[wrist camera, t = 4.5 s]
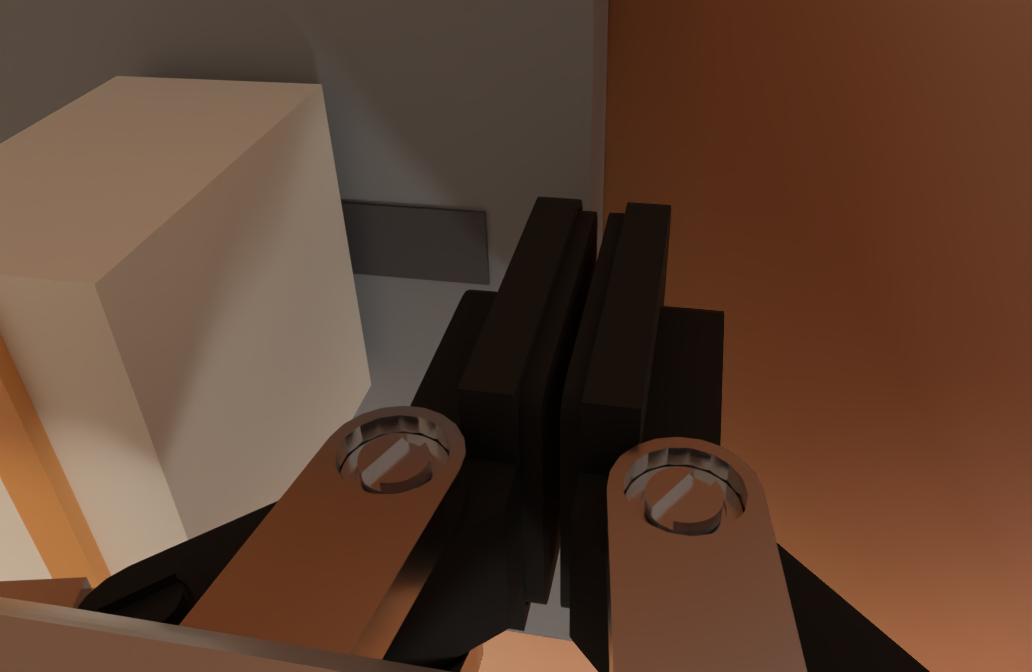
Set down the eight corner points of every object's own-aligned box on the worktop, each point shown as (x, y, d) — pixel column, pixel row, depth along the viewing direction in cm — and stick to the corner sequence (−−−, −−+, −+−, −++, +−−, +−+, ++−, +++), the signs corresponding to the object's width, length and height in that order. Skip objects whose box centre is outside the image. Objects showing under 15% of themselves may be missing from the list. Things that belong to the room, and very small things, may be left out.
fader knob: (321, 84, 11) (79, 296, 7) (371, 384, 14) (218, 659, 10) (116, 75, 12) (-216, 269, 8) (204, 366, 15) (-5, 619, 11)
